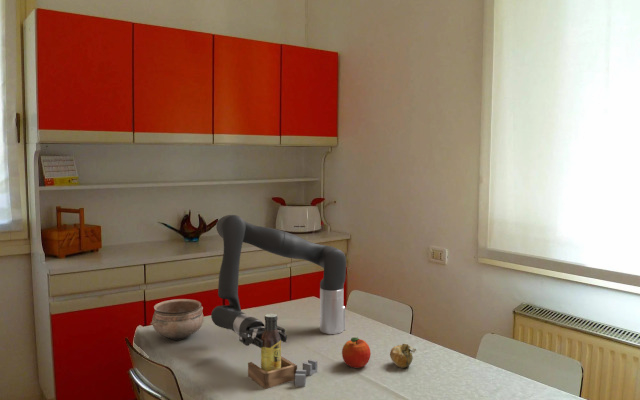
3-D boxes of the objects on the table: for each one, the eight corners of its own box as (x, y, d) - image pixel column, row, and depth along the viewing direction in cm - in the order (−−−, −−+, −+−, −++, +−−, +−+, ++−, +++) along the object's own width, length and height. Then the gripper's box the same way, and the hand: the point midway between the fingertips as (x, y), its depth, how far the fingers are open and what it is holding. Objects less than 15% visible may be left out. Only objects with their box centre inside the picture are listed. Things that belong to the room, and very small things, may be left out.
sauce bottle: (277, 382, 165) (277, 319, 163) (258, 380, 166) (257, 318, 165) (283, 373, 172) (283, 313, 170) (264, 372, 173) (264, 311, 171)
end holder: (278, 368, 176) (278, 354, 175) (297, 379, 167) (297, 365, 167) (248, 376, 169) (248, 362, 169) (265, 388, 161) (265, 374, 160)
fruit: (374, 362, 181) (375, 333, 180) (364, 373, 172) (365, 342, 171) (348, 357, 185) (348, 329, 184) (337, 367, 176) (337, 338, 175)
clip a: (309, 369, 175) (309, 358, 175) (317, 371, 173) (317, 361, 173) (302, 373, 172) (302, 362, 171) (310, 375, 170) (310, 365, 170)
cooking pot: (170, 352, 189) (169, 318, 188) (135, 341, 199) (134, 309, 198) (219, 332, 210) (219, 301, 209) (185, 323, 220) (184, 294, 219)
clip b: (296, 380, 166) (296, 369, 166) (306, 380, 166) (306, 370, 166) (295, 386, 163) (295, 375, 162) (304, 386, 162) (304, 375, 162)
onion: (407, 360, 183) (408, 337, 182) (416, 369, 175) (417, 345, 175) (386, 361, 182) (386, 339, 181) (394, 371, 174) (395, 347, 173)
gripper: (229, 320, 175) (253, 334, 162) (267, 312, 183) (293, 325, 170) (229, 342, 176) (253, 358, 163) (267, 334, 184) (293, 348, 171)
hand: (274, 341), depth 166 cm, fingers open, 8 cm apart
